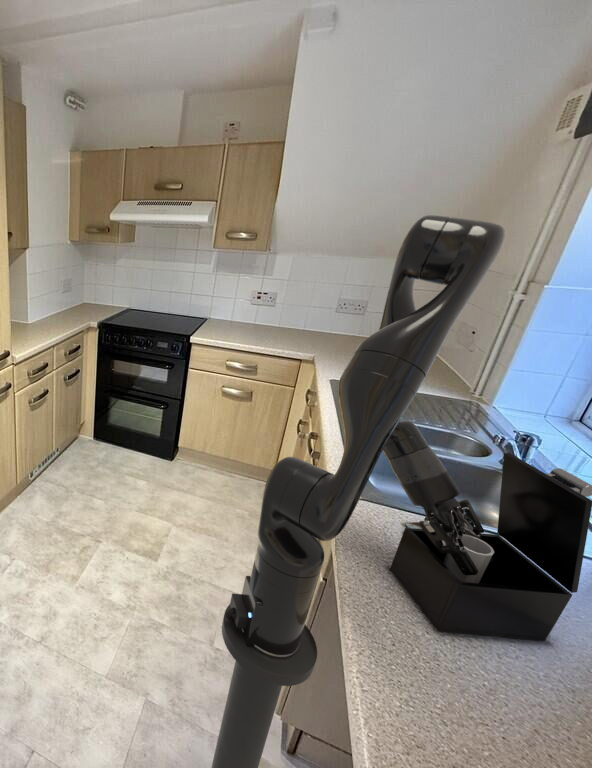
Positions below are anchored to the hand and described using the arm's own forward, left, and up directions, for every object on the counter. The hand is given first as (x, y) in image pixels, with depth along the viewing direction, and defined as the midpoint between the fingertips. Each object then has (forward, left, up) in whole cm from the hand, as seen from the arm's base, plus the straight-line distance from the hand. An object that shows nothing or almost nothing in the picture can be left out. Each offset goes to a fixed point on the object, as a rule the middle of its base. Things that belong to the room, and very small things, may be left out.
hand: (478, 567), depth 72 cm
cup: (-1, +2, -5) cm, 5 cm away
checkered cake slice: (+4, +17, -8) cm, 19 cm away
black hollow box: (-1, 0, -8) cm, 8 cm away
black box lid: (+5, 0, +11) cm, 12 cm away
